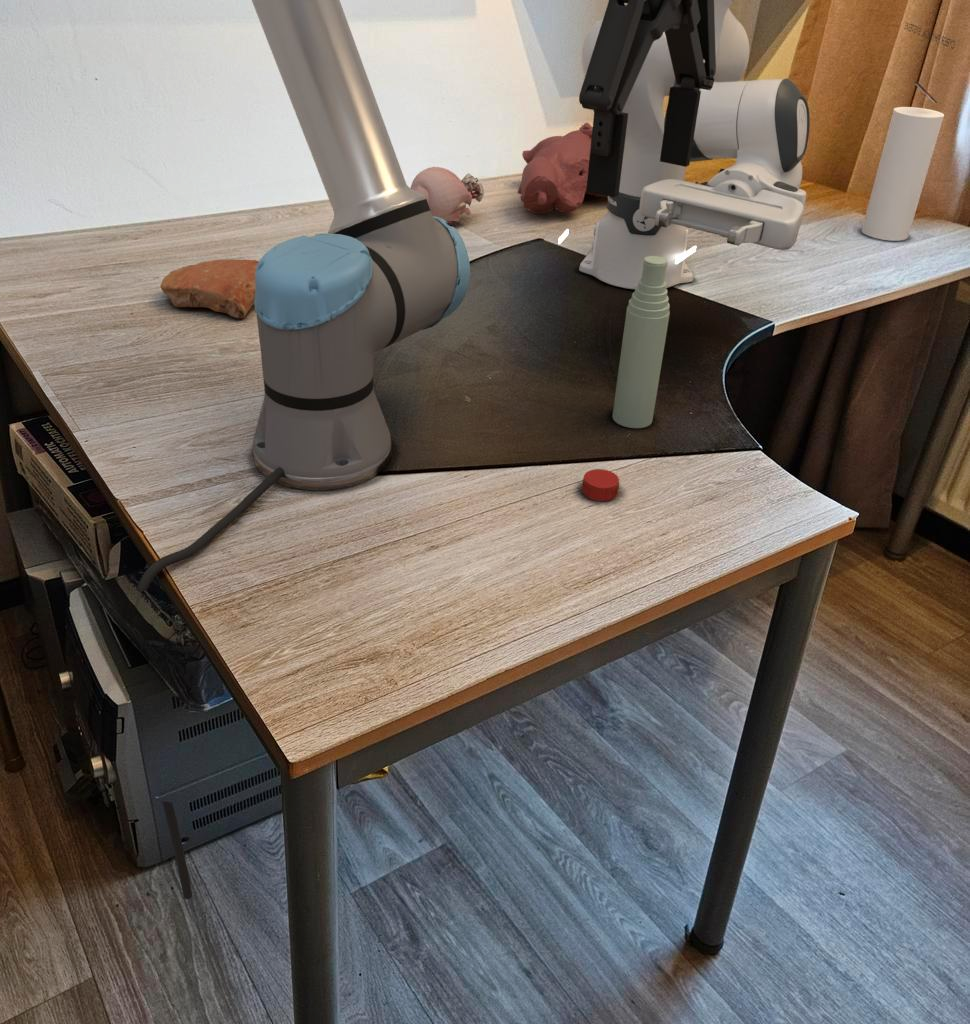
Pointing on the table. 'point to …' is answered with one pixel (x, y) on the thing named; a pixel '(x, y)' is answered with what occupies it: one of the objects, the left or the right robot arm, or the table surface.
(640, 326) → the bottle
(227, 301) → the ceramic shard
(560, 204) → the red pig head
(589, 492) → the cap
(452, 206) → the toy
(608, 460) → the table surface
